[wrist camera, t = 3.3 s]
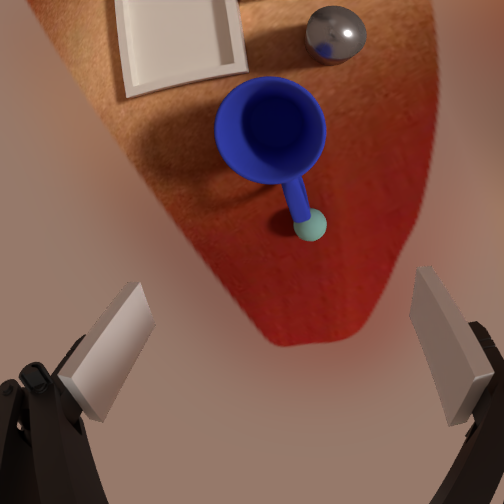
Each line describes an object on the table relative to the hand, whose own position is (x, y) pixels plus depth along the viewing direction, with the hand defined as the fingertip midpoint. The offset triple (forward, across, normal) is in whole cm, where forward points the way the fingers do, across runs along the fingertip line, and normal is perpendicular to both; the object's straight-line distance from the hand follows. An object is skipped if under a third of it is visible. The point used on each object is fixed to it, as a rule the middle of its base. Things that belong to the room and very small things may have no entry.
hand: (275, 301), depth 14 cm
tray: (+21, -9, +21) cm, 31 cm away
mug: (+22, 0, +5) cm, 22 cm away
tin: (+21, +6, +15) cm, 27 cm away
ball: (+22, +2, -4) cm, 22 cm away
